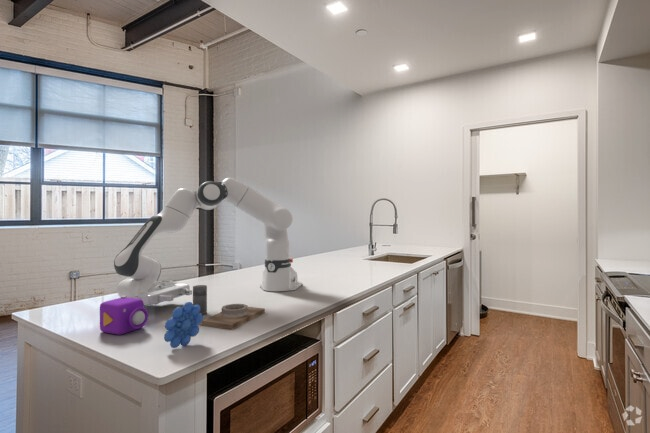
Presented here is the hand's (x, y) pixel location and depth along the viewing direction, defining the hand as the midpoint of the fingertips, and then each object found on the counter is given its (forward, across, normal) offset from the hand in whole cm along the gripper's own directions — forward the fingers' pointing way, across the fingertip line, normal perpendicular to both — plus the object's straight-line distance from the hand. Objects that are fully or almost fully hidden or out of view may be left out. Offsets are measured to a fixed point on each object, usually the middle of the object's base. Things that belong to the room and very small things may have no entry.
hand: (181, 295), depth 134 cm
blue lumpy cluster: (+24, -26, +6) cm, 36 cm away
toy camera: (0, -23, +6) cm, 24 cm away
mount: (+24, 0, +6) cm, 24 cm away
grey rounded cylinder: (+8, 0, +6) cm, 10 cm away
